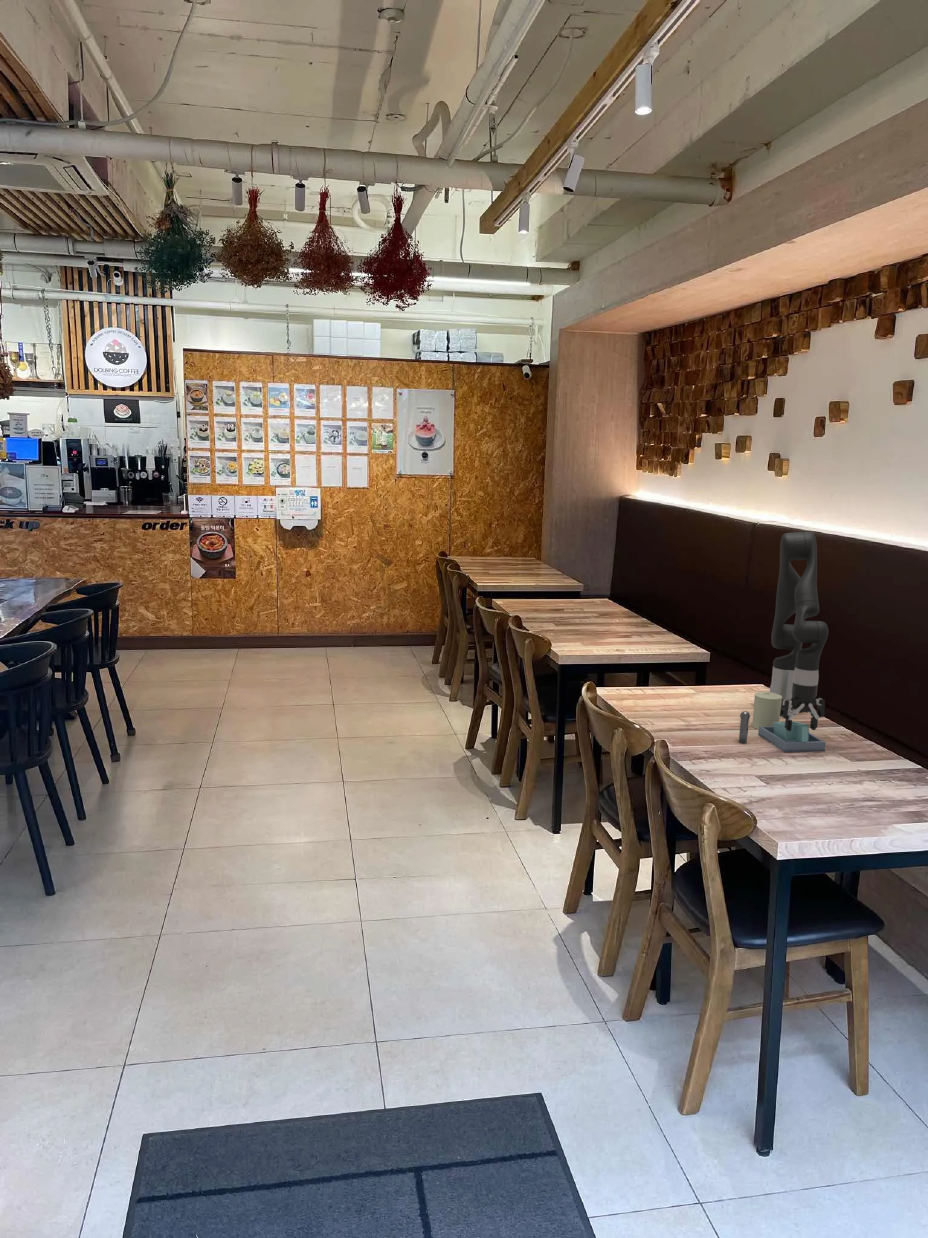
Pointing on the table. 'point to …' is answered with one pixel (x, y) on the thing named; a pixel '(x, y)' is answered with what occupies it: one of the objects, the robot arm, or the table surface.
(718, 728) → the table surface
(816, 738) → the tray
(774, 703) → the can
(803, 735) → the teal block with hole
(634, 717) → the table surface
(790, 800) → the table surface
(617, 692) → the table surface
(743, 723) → the dark grey peg
